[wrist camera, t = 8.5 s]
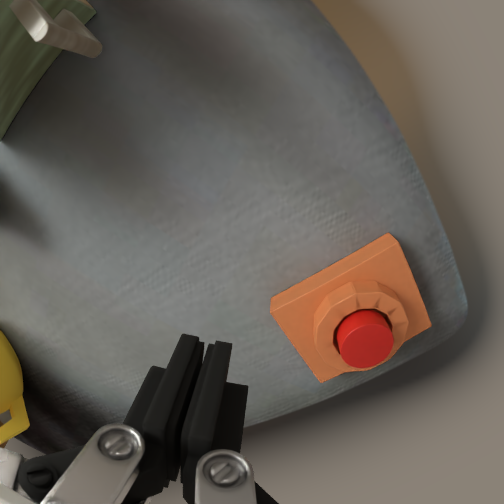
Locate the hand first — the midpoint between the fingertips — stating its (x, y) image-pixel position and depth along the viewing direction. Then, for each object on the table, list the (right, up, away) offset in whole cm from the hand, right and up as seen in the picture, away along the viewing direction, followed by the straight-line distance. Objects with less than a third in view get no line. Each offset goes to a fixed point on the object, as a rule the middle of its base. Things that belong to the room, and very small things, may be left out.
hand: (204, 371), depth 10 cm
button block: (+9, 0, +14) cm, 17 cm away
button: (+9, -1, +10) cm, 14 cm away
